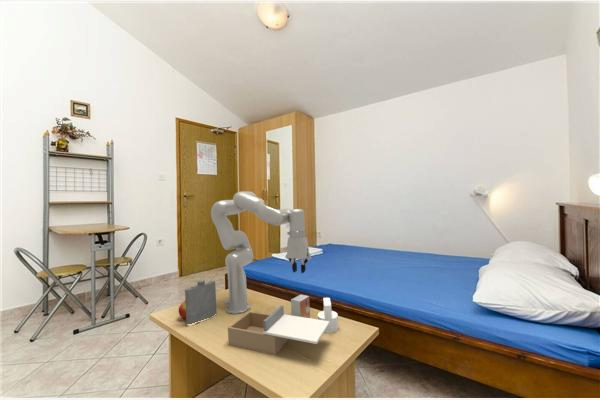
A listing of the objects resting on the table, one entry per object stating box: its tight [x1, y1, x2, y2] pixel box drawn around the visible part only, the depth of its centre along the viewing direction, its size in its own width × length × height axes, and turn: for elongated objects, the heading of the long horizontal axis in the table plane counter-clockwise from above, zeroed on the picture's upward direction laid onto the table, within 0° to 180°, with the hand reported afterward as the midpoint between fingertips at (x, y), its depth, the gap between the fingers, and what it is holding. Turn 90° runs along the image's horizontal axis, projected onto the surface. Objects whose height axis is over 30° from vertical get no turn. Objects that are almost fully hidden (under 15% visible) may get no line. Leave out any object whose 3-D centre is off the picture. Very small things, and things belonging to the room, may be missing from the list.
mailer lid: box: [263, 305, 330, 345], centre depth 105 cm, size 22×16×5 cm
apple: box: [178, 301, 186, 319], centre depth 135 cm, size 8×8×10 cm
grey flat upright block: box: [184, 279, 218, 325], centre depth 132 cm, size 16×4×20 cm, turn 140°
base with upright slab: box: [317, 297, 339, 334], centre depth 119 cm, size 9×9×12 cm
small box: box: [290, 293, 311, 318], centre depth 129 cm, size 8×6×10 cm
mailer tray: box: [227, 310, 289, 355], centre depth 112 cm, size 22×16×7 cm
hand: (299, 271), depth 128 cm, fingers open, 3 cm apart
